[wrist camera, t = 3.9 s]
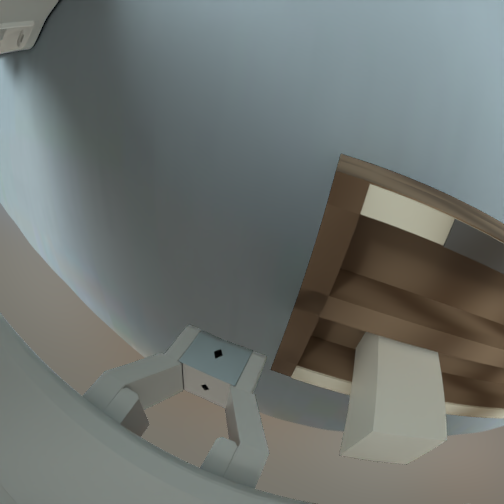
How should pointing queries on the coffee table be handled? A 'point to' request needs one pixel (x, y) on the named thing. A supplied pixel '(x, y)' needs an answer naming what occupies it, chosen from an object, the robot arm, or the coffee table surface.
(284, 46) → the coffee table surface
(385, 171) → the wooden shelf rack
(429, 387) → the offwhite block
